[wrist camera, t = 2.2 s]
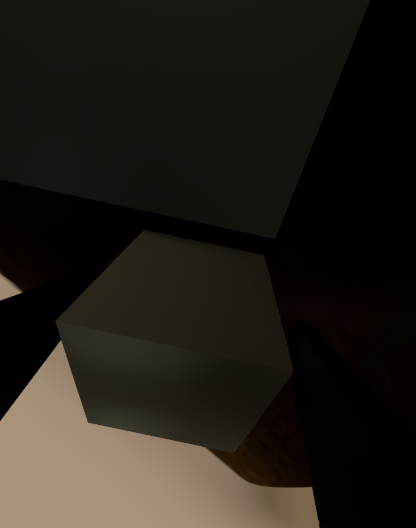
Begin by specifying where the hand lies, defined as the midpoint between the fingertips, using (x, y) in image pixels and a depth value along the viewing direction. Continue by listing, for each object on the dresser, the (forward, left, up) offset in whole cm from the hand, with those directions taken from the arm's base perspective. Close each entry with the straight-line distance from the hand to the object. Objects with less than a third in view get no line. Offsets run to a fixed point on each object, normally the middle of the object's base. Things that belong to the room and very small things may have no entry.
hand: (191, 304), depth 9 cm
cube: (0, 0, -1) cm, 1 cm away
